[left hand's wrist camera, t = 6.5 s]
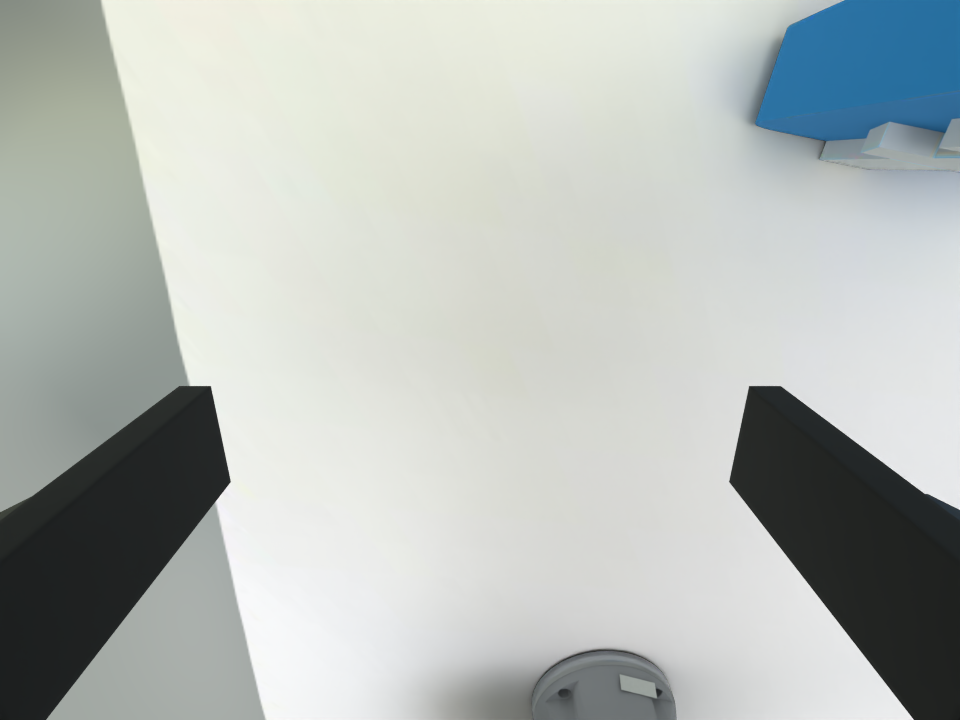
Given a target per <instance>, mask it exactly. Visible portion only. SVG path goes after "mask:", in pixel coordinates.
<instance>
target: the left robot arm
mask: <svg viewBox="0 0 960 720" xmlns="http://www.w3.org/2000/svg"><path fill="white" fill-rule="evenodd" d="M230 482H231V481H230V476H229V471H228V466H227V462H226V457H225V452H224V447H223V442H222V438H221V433H220V428H219V423H218V419H217V414H216V409H215V404H214V399H213V395H212V390H211V386H179V387H178V388H176V389H175V390H174V391H172V392H171V393H170V394H168V395H167V396H166V397H164V398H163V399H162V400H160V401H159V402H158V403H156V404H155V405H154V406H152V407H151V408H150V409H148V410H147V411H146V412H144V413H143V414H142V415H140V416H139V417H138V418H136V419H135V420H134V421H132V422H131V423H130V424H128V425H127V426H126V427H124V428H123V429H122V430H120V431H119V432H118V433H116V434H115V435H114V436H112V437H111V438H110V439H108V440H107V441H106V442H104V443H103V444H102V445H100V446H99V447H98V448H96V449H95V450H94V451H92V452H91V453H90V454H88V455H87V456H85V457H84V458H83V459H81V460H80V461H79V462H77V463H76V464H75V465H74V466H72V467H71V468H70V469H68V470H67V471H66V472H64V473H63V474H61V475H60V476H59V477H57V478H56V479H55V480H53V481H52V482H51V483H49V484H48V485H47V486H45V487H44V488H43V489H41V490H40V491H39V492H37V493H36V494H35V495H33V496H32V497H30V498H28V499H26V500H24V501H22V502H20V503H18V504H16V505H14V506H12V507H10V508H8V509H6V510H4V511H2V512H0V720H46V719H47V718H48V716H49V715H50V714H51V712H52V711H53V710H54V709H55V707H56V706H57V705H58V704H59V702H60V701H61V700H62V698H63V697H64V696H65V695H66V693H67V692H68V691H69V689H70V688H71V687H72V686H73V684H74V683H75V682H76V680H77V679H78V678H79V677H80V675H81V674H82V673H83V671H84V670H85V669H86V668H87V666H88V665H89V664H90V662H91V661H92V660H93V659H94V657H95V656H96V655H97V653H98V652H99V651H100V650H101V648H102V647H103V646H104V644H105V643H106V642H107V641H108V639H109V638H110V637H111V635H112V634H113V633H114V632H115V630H116V629H117V628H118V626H119V625H120V624H121V622H122V621H123V620H124V619H125V617H126V616H127V615H128V613H129V612H130V611H131V610H132V608H133V607H134V606H135V604H136V603H137V602H138V601H139V599H140V598H141V597H142V595H143V594H144V593H145V592H146V590H147V589H148V588H149V586H150V585H151V584H152V583H153V581H154V580H155V579H156V577H157V576H158V575H159V574H160V572H161V571H162V570H163V568H164V567H165V566H166V565H167V563H168V562H169V561H170V559H171V558H172V557H173V555H174V554H175V553H176V552H177V550H178V549H179V548H180V547H181V545H182V544H183V543H184V541H185V540H186V539H187V538H188V536H189V535H190V534H191V532H192V531H193V530H194V529H195V527H196V526H197V525H198V523H199V522H200V521H201V520H202V518H203V517H204V516H205V514H206V513H207V512H208V510H209V509H210V508H211V507H212V505H213V504H214V503H215V501H216V500H217V499H218V498H219V496H220V495H221V494H222V492H223V491H224V490H225V489H226V487H227V486H228V485H229V483H230ZM729 482H730V483H731V485H732V486H733V487H734V489H735V490H736V491H737V492H738V494H739V495H740V496H741V498H742V499H743V500H744V501H745V503H746V504H747V505H748V507H749V508H750V509H751V510H752V512H753V513H754V514H755V516H756V517H757V518H758V520H759V521H760V522H761V523H762V525H763V526H764V527H765V529H766V530H767V531H768V532H769V534H770V535H771V536H772V538H773V539H774V540H775V541H776V543H777V544H778V545H779V547H780V548H781V549H782V550H783V552H784V553H785V554H786V556H787V557H788V558H789V559H790V561H791V562H792V563H793V565H794V566H795V567H796V568H797V570H798V571H799V572H800V574H801V575H802V576H803V577H804V579H805V580H806V581H807V583H808V584H809V585H810V586H811V588H812V589H813V590H814V592H815V593H816V594H817V595H818V597H819V598H820V599H821V601H822V602H823V603H824V604H825V606H826V607H827V608H828V610H829V611H830V612H831V613H832V615H833V616H834V617H835V619H836V620H837V621H838V622H839V624H840V625H841V626H842V628H843V629H844V630H845V632H846V633H847V634H848V635H849V637H850V638H851V639H852V641H853V642H854V643H855V644H856V646H857V647H858V648H859V650H860V651H861V652H862V653H863V655H864V656H865V657H866V659H867V660H868V661H869V662H870V664H871V665H872V666H873V668H874V669H875V670H876V671H877V673H878V674H879V675H880V677H881V678H882V679H883V680H884V682H885V683H886V684H887V686H888V687H889V688H890V689H891V691H892V692H893V693H894V695H895V696H896V697H897V698H898V700H899V701H900V702H901V704H902V705H903V706H904V707H905V709H906V710H907V711H908V713H909V714H910V715H911V716H912V718H913V719H914V720H960V510H959V509H957V508H955V507H953V506H950V505H948V504H946V503H944V502H942V501H940V500H938V499H936V498H934V497H932V496H930V495H928V494H924V493H923V492H921V491H920V490H919V489H917V488H916V487H915V486H913V485H912V484H911V483H909V482H908V481H907V480H905V479H904V478H903V477H901V476H900V475H899V474H897V473H896V472H895V471H893V470H892V469H891V468H889V467H888V466H887V465H885V464H884V463H883V462H881V461H880V460H879V459H877V458H876V457H875V456H873V455H872V454H870V453H869V452H868V451H866V450H865V449H864V448H862V447H861V446H860V445H858V444H857V443H856V442H854V441H853V440H852V439H850V438H849V437H848V436H846V435H845V434H844V433H842V432H841V431H840V430H838V429H837V428H836V427H834V426H833V425H832V424H830V423H829V422H828V421H826V420H825V419H824V418H822V417H821V416H820V415H818V414H817V413H816V412H814V411H813V410H812V409H810V408H809V407H808V406H806V405H805V404H804V403H802V402H801V401H800V400H798V399H797V398H796V397H794V396H793V395H792V394H790V393H789V392H788V391H786V390H785V389H784V388H782V387H781V386H749V390H748V395H747V399H746V404H745V409H744V414H743V419H742V423H741V428H740V433H739V438H738V442H737V447H736V452H735V457H734V462H733V466H732V471H731V476H730V481H729ZM532 713H533V720H676V708H675V701H674V698H673V695H672V692H671V689H670V686H669V684H668V681H667V679H666V677H665V676H664V674H663V673H662V672H661V671H660V670H659V669H658V668H657V667H656V666H655V665H653V664H652V663H651V662H649V661H647V660H645V659H643V658H641V657H638V656H636V655H633V654H629V653H624V652H617V651H597V652H590V653H585V654H581V655H577V656H574V657H571V658H569V659H567V660H564V661H562V662H561V663H559V664H557V665H556V666H554V667H553V668H551V669H550V670H549V671H548V672H547V673H546V674H545V675H544V676H543V677H542V678H541V679H540V681H539V682H538V683H537V685H536V687H535V689H534V692H533V696H532Z"/></svg>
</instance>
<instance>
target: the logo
mask: <svg viewBox="0 0 960 720" xmlns="http://www.w3.org/2000/svg"><path fill="white" fill-rule="evenodd" d="M755 124H756V125H757V126H759V127H762V128H765V129H769V130H774V131H779V132H784V133H789V134H794V135H799V136H804V137H809V138H814V139H819V140H824V141H826V144H825V146H824V149H823V152H822V154H821V157H820V159H819V160H823V161H828V162H834V163H839V164H844V165H849V166H854V167H859V168H864V169H869V170H938V171H954V172H959V173H960V0H844V1H842V2H840V3H838V4H836V5H833V6H831V7H829V8H827V9H825V10H822V11H820V12H818V13H816V14H814V15H811V16H809V17H807V18H805V19H803V20H800V21H798V22H796V23H794V24H792V25H790V26H789V27H788V28H787V31H786V34H785V37H784V40H783V42H782V45H781V48H780V51H779V54H778V57H777V60H776V63H775V66H774V69H773V72H772V75H771V78H770V81H769V84H768V87H767V90H766V93H765V96H764V99H763V102H762V105H761V108H760V111H759V114H758V117H757V120H756V123H755Z"/></svg>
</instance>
